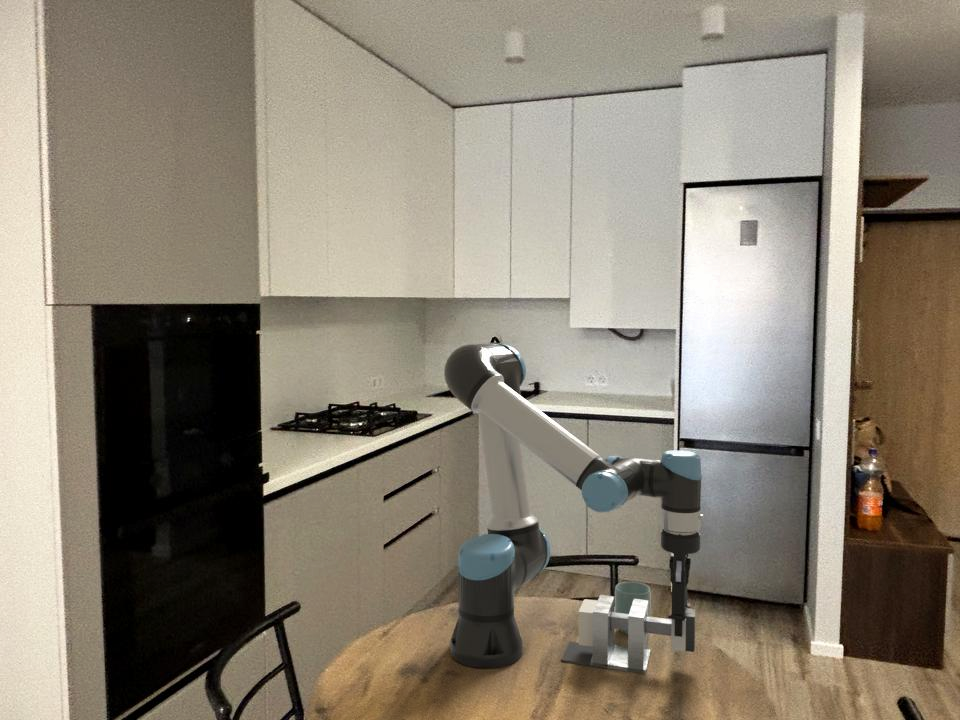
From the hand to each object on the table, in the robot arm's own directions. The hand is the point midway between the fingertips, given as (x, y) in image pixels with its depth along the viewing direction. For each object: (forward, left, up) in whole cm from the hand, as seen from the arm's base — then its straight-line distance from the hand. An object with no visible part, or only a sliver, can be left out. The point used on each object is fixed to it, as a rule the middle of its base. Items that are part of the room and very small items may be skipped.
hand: (679, 644), depth 146 cm
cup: (-14, +11, -5) cm, 19 cm away
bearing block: (-11, -3, -5) cm, 12 cm away
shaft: (-7, -2, 0) cm, 8 cm away
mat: (-19, -5, -5) cm, 21 cm away
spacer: (-17, -5, +2) cm, 18 cm away
